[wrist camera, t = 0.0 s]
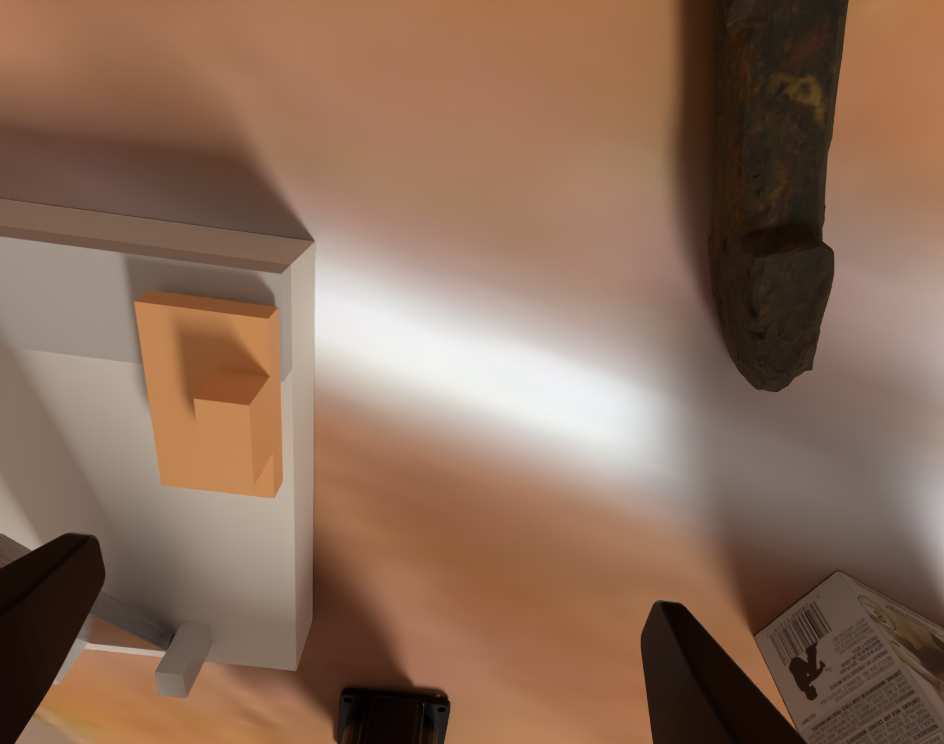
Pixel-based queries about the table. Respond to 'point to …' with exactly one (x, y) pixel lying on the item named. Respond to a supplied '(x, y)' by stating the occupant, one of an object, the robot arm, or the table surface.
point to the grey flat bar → (106, 615)
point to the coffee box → (857, 667)
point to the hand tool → (773, 180)
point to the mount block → (131, 432)
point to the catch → (213, 392)
